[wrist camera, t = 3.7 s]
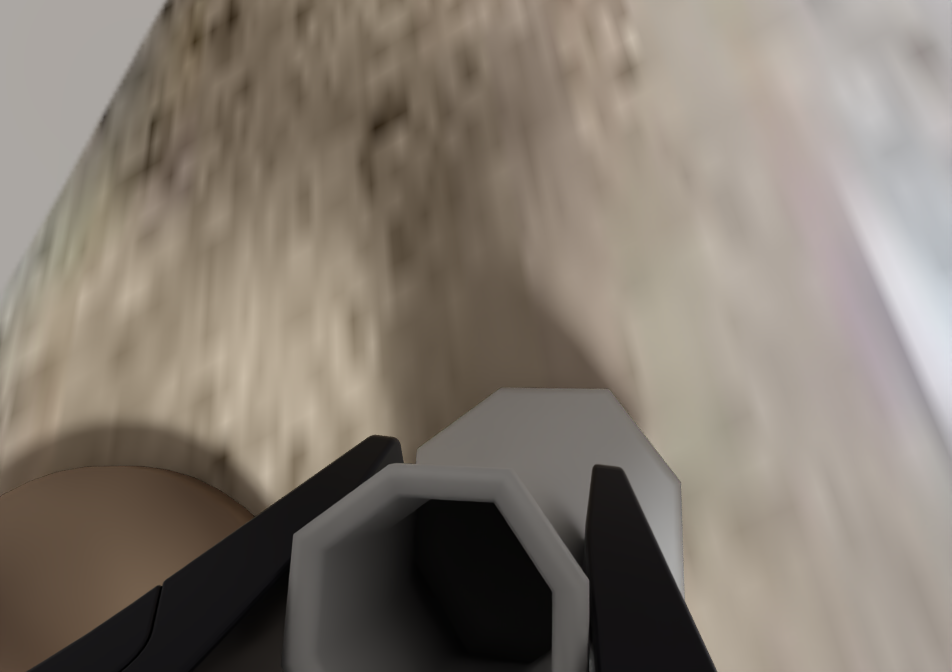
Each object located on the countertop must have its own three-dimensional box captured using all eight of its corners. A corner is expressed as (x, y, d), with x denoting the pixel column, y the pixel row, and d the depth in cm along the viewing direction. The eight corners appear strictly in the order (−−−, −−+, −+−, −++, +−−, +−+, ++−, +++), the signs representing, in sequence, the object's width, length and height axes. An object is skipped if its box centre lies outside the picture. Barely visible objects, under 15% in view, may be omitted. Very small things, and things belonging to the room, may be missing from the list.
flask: (383, 426, 17) (76, 385, 7) (630, 347, 15) (663, 170, 6) (449, 702, 15) (152, 1157, 5) (735, 634, 14) (1030, 1048, 4)
